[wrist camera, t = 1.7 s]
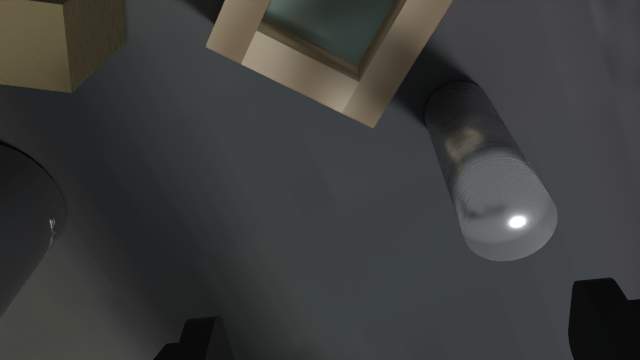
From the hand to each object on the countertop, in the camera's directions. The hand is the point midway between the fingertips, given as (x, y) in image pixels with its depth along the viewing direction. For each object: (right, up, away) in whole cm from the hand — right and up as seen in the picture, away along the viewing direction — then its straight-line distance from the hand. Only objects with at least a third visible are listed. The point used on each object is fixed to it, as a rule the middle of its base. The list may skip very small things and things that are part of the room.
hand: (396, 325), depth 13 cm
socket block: (-1, +14, +18) cm, 23 cm away
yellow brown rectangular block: (-15, +13, +19) cm, 27 cm away
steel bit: (+7, +8, +22) cm, 24 cm away
